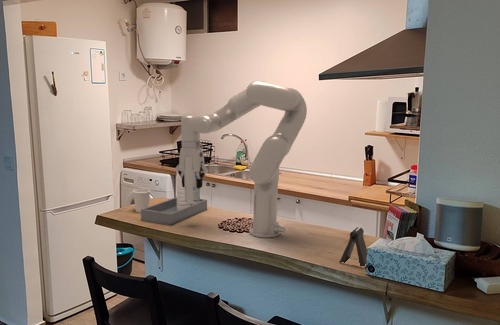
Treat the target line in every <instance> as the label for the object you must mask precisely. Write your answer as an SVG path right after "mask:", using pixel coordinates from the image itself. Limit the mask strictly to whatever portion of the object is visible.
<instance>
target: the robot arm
mask: <svg viewBox="0 0 500 325" xmlns="http://www.w3.org/2000/svg"><path fill="white" fill-rule="evenodd" d="M260 106H263V107H267V108H270V109H275V110H279V111H283V112H284V114H283V116H282V118H281V119H280V121H279V123H278V125H277V127H276V129H275V131H274V132H273V134H272V135H269V136H268V137H267V138H266V139H265V140H264V142H263V143H262V144H261V147H260V148H259V150H258V153H257V154H256V156H255V158H254V159H253V161H252V163H251V165H250V168H249V172H248V173H249V176H250V179H251V181H253V182H254V186H253V213H252V214H253V215H252V216H253V217H252V227H250V228H249V230H248V233H249V234H250V235H251V236H253V237H257V238H266V239H267V238H275V237H278V236H279V235H280V234H281V233H282V234H285V233H286V231H287V229H286V227H285V226H281V225H280V223H279V222H278V221H277V220H278V218H277V216H278V215H277V214H278V193H279V192H278V191H279V190H278V187H279V180H280V165H281V164H282V162H283V160H284V158H285V157H286V156H287V155H288V154H289V153H290V151H291V149H292V146H293V144H294V143H295V141H296V139H297V138H298V135H299V133H300V131H301V129H302V128H303V125H304V124H305V121H306V118H307V114H308V113H307V112H308V109H307V107H308V106H307V104H306V100H305V98H304V97H303V95H302V94H301V92H300V91H298V90H297V89H295V88H292V87H291V88H290V87H285V86H280V85H276V84H272V83H268V82H266V81H262V80H253V81H252V82H251V83H249V84H248V86H246V89H244V90H242V91H241V92H238V93H237V94H235V95H233V96H232V97H231V98H229V100H228V102H227V103H226V104H225V105H224V106H222V107H221V108H219V109H218V110H216V111H214V112H212V113H209V114H201V115H195V114H185V115H182V116H181V119H180V130H181V132H180V133H181V147H180V151H179V160H178V161H179V164H177V165H176V167H174V169H175V170H176V171H177V172H178V174H179V175H180V177H181V178H182V187H185V183H184V156H189V157H193V168H194V172H195V173H196V175H197V177H198V179H197V188H200V189H201V188H203V179H204V177H205V176H206V175H207V173H208V172H209V171H210V169H208V167H207V166H206V165H205V156H204V151H203V148H202V147H201V146H203V143H202V142H201V136H200V135H201V134H210V133H215V132H217V131H219V130H221V129H223V128H224V127H226V126H229V125H230V124H231V123H233V122H234V121H237V120H238V119H241V117H243V116H244V115H246V114H248V113H250V112H252V111H253V110H255V109H257V108H259V107H260ZM177 172H176V173H177Z"/></svg>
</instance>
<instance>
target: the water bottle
mask: <svg viewBox="0 0 500 325" xmlns="http://www.w3.org/2000/svg"><path fill="white" fill-rule="evenodd" d="M176 197H177V211H178V210H181V209H183V208H186V207H188V206H190V204H186V203H185V187H182V178H181V177H180V175H179V174H178V172H177V171H176Z"/></svg>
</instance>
